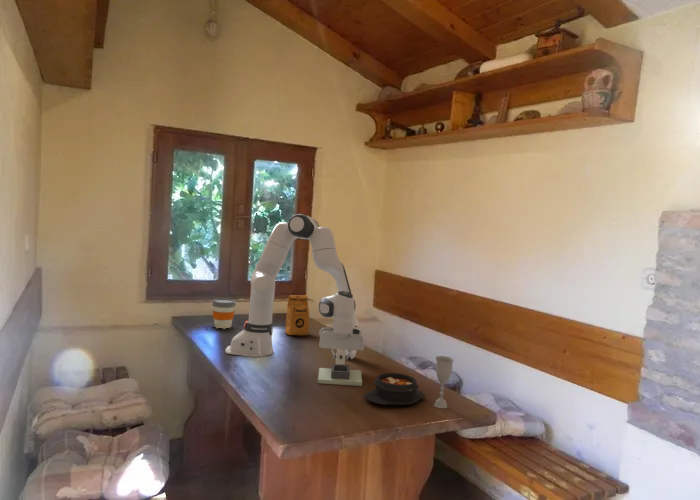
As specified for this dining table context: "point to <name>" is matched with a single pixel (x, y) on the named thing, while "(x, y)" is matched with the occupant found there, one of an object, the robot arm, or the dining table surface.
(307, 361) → the dining table surface
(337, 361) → the keyed plug
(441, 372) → the chalice
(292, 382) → the dining table surface
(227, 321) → the reusable coffee cup
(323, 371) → the socket board
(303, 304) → the coffee package
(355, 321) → the water bottle
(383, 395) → the casserole
